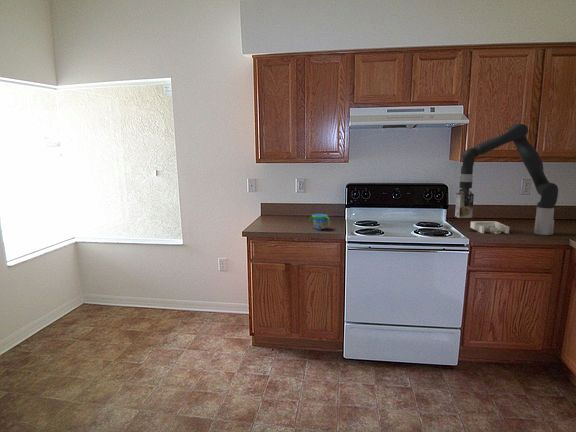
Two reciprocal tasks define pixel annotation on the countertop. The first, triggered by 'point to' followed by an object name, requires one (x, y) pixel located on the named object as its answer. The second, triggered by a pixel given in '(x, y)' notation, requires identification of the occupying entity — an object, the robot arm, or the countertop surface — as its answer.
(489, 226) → the offcut top
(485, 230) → the offcut middle
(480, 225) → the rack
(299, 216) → the countertop surface
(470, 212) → the coffee box
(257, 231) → the countertop surface
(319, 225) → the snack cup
